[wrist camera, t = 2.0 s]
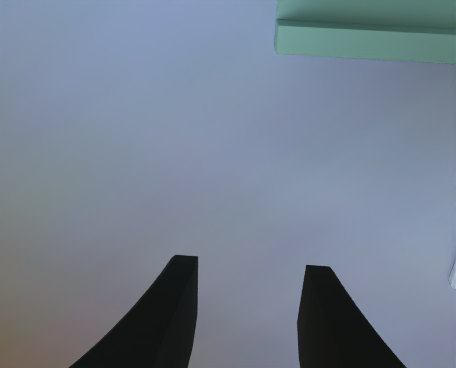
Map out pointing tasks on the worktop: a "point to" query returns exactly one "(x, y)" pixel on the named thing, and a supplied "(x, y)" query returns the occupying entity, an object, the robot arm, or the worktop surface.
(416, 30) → the tray
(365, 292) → the worktop surface
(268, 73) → the worktop surface
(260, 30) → the worktop surface
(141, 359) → the robot arm
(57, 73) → the worktop surface
